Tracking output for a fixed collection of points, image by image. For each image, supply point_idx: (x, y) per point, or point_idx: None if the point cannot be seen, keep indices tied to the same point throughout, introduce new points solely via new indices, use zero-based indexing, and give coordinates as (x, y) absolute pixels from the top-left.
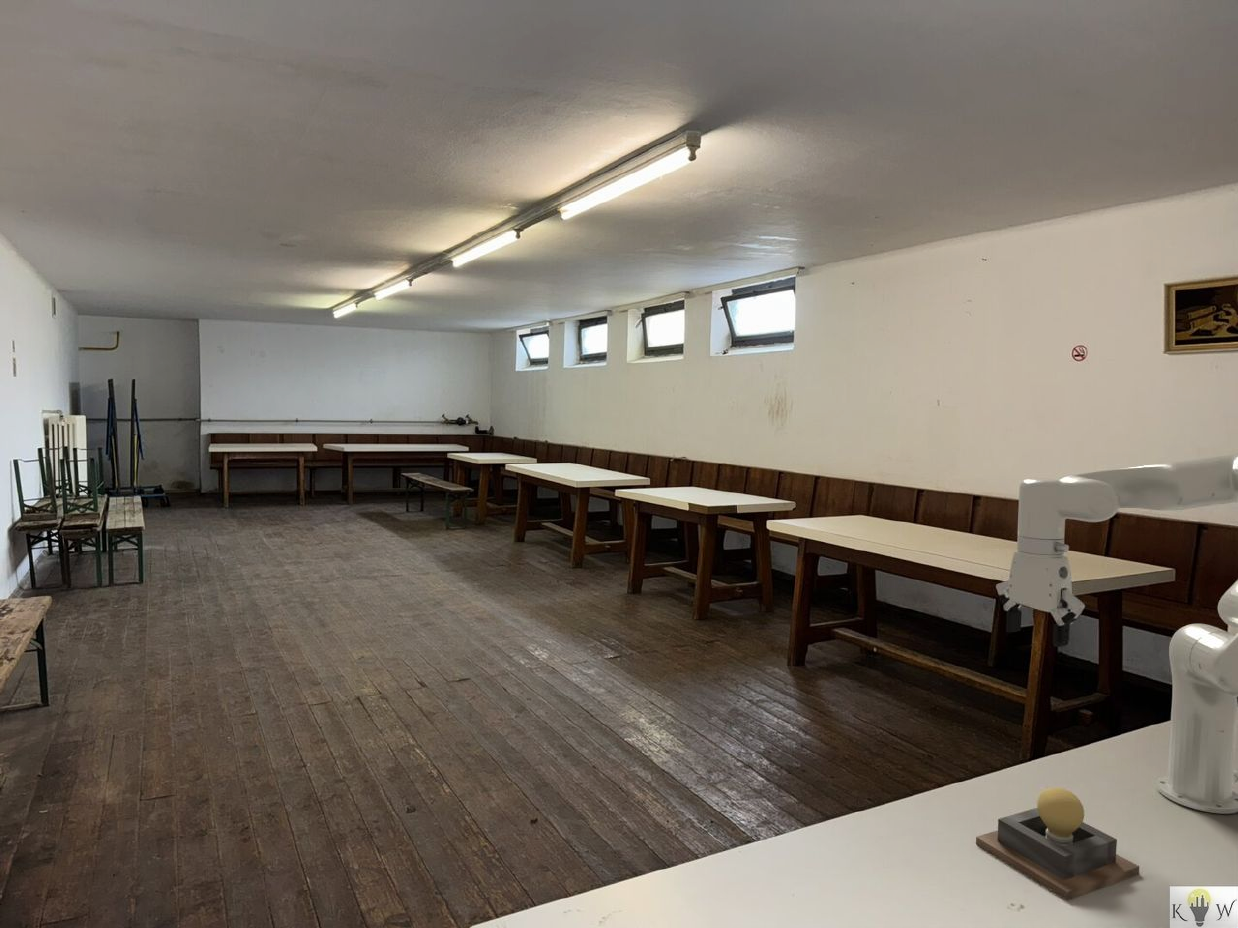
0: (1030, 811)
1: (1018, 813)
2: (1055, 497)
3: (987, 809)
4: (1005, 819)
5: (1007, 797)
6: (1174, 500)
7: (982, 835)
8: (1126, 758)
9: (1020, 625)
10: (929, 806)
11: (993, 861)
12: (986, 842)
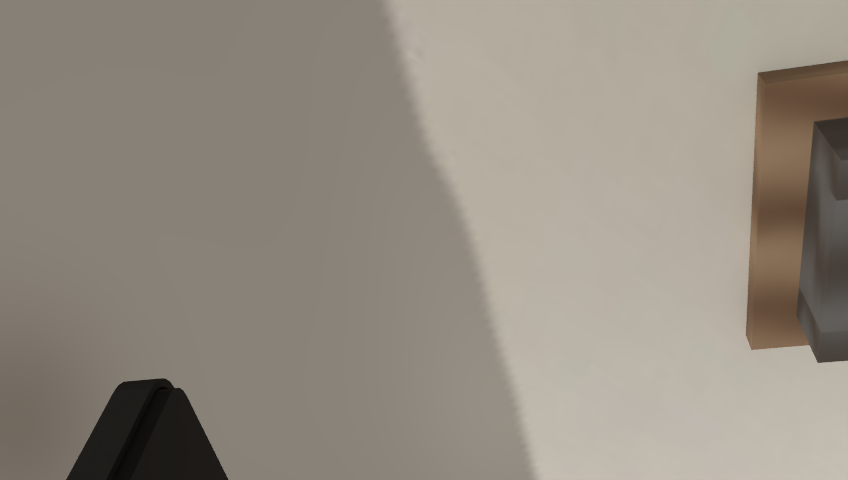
0: (839, 250)
1: (827, 292)
2: None
3: (603, 186)
4: (832, 348)
5: (557, 63)
6: None
7: (755, 332)
8: None
9: (152, 447)
10: (527, 323)
11: None
12: (788, 345)
